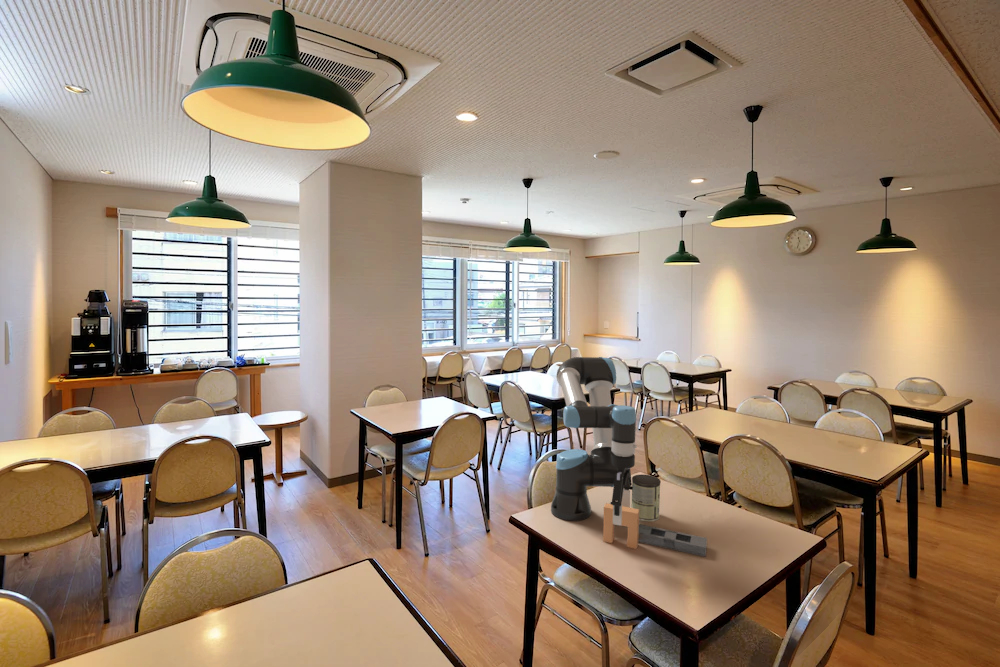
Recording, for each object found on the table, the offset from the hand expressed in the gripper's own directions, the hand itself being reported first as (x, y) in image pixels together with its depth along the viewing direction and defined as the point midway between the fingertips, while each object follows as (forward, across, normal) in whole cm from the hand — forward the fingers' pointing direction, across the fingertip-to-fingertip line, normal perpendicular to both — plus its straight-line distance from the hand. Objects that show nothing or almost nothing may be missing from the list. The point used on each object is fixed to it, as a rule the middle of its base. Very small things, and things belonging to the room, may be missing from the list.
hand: (621, 516), depth 158 cm
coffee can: (+9, +25, -4) cm, 27 cm away
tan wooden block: (+9, 0, 0) cm, 9 cm away
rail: (+9, +7, -15) cm, 19 cm away
